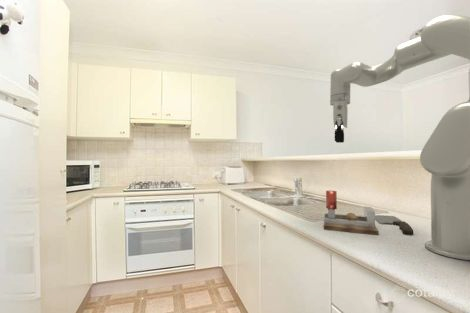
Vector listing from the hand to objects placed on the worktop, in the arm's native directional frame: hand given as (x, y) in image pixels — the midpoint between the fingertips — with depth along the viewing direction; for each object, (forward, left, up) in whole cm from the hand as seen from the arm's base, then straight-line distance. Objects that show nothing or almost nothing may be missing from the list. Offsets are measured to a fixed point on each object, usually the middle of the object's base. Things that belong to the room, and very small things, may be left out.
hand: (339, 141), depth 95 cm
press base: (-3, +2, -34) cm, 34 cm away
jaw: (+3, +2, -32) cm, 33 cm away
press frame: (-3, +2, -33) cm, 33 cm away
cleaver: (-20, -9, -35) cm, 41 cm away
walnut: (-4, +2, -31) cm, 31 cm away
